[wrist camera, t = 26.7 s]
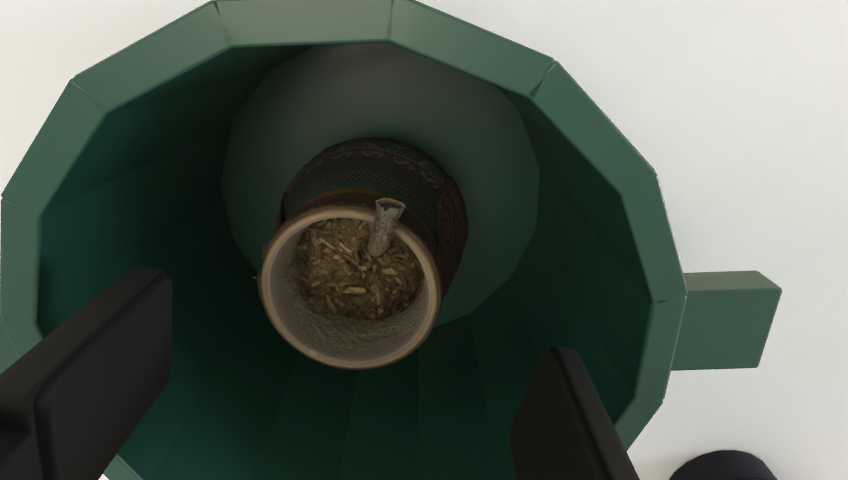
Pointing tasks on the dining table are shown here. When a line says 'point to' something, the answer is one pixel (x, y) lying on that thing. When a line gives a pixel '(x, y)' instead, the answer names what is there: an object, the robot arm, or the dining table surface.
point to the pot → (255, 224)
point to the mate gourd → (363, 253)
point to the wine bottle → (725, 467)
